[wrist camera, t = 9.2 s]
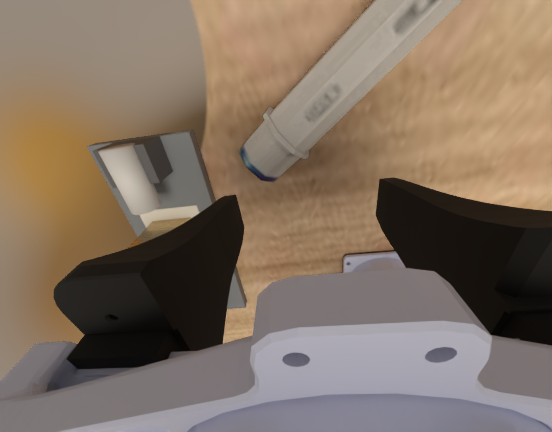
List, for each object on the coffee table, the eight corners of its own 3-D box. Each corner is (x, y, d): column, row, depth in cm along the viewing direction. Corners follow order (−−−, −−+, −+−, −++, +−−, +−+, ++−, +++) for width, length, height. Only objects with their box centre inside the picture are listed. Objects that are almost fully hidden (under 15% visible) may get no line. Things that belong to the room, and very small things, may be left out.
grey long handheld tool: (224, 151, 16) (1207, -1035, 3) (246, 124, 21) (653, -368, 8) (277, 197, 18) (1047, -447, 5) (285, 162, 23) (671, -197, 10)
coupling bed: (246, 301, 30) (240, 335, 26) (182, 305, 31) (167, 338, 27) (193, 129, 19) (168, 143, 15) (95, 143, 20) (47, 160, 16)
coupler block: (210, 269, 26) (196, 307, 22) (177, 271, 26) (156, 309, 22) (190, 217, 22) (168, 250, 18) (152, 221, 23) (121, 254, 18)
